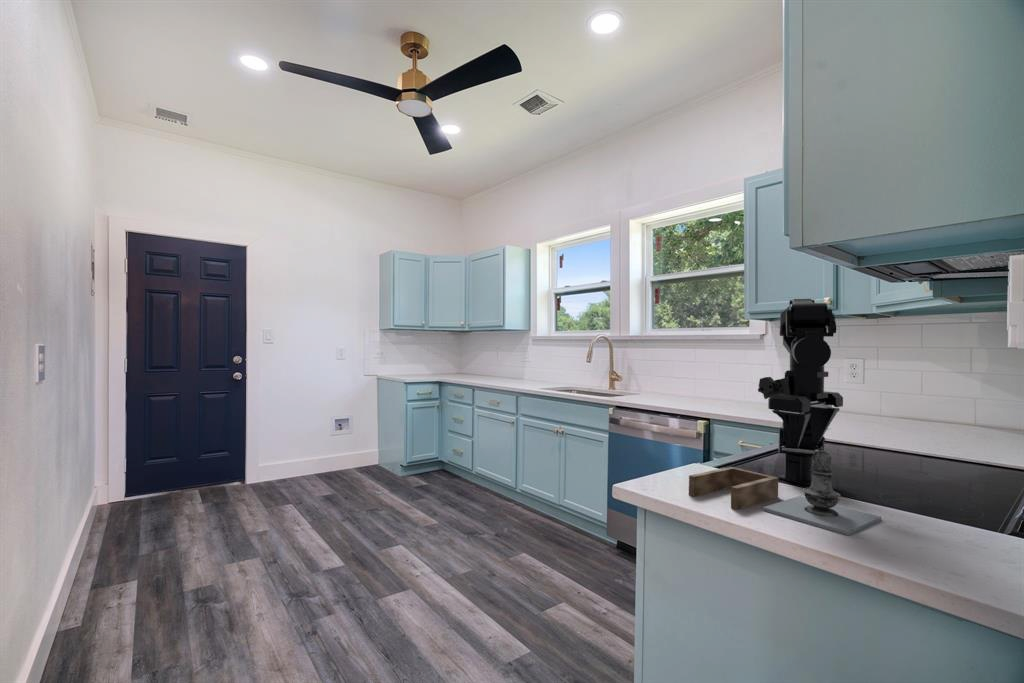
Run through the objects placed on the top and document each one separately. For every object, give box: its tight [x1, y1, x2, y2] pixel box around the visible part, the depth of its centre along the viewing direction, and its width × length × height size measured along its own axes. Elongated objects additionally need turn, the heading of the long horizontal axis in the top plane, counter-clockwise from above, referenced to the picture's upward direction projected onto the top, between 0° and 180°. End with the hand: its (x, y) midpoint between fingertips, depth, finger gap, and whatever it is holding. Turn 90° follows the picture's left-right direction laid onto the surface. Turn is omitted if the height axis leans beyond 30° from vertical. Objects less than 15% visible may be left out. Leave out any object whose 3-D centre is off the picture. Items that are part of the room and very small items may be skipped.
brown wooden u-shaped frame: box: [688, 466, 779, 511], centre depth 98 cm, size 15×10×4 cm
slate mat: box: [762, 495, 883, 536], centre depth 88 cm, size 14×14×1 cm
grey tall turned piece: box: [802, 447, 841, 517], centre depth 88 cm, size 6×6×12 cm
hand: (805, 444), depth 95 cm, fingers open, 9 cm apart
